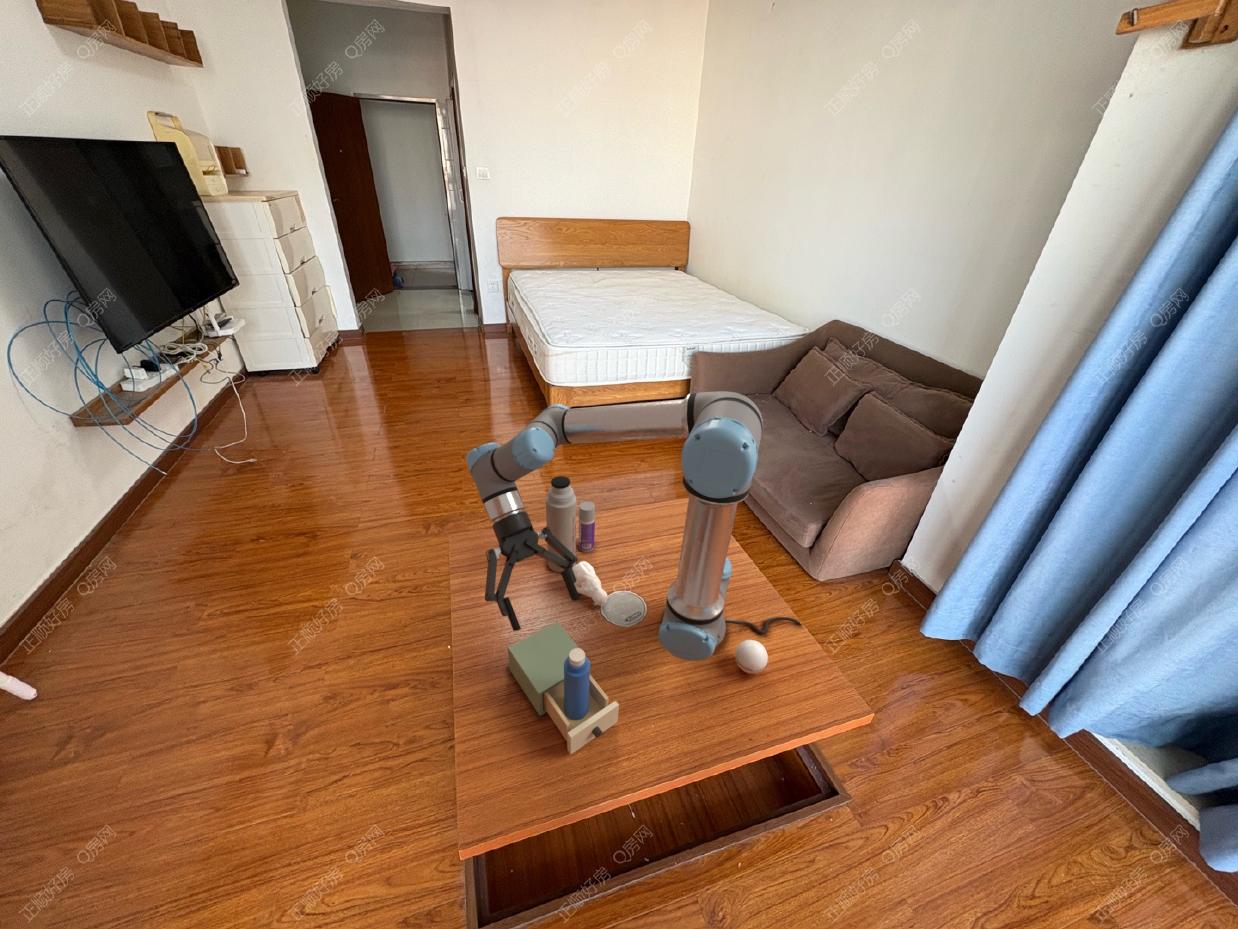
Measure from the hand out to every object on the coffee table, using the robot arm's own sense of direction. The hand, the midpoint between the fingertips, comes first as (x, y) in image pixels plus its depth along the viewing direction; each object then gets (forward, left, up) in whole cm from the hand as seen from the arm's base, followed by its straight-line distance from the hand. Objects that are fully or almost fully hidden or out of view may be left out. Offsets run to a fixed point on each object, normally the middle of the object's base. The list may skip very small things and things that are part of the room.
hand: (547, 614), depth 101 cm
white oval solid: (-43, -17, -20) cm, 50 cm away
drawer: (-10, +7, -19) cm, 22 cm away
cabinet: (0, 0, -20) cm, 20 cm away
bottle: (-9, +6, -18) cm, 21 cm away
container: (+8, -44, -20) cm, 49 cm away
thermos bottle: (+12, -35, -20) cm, 42 cm away
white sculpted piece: (0, -26, -20) cm, 33 cm away
